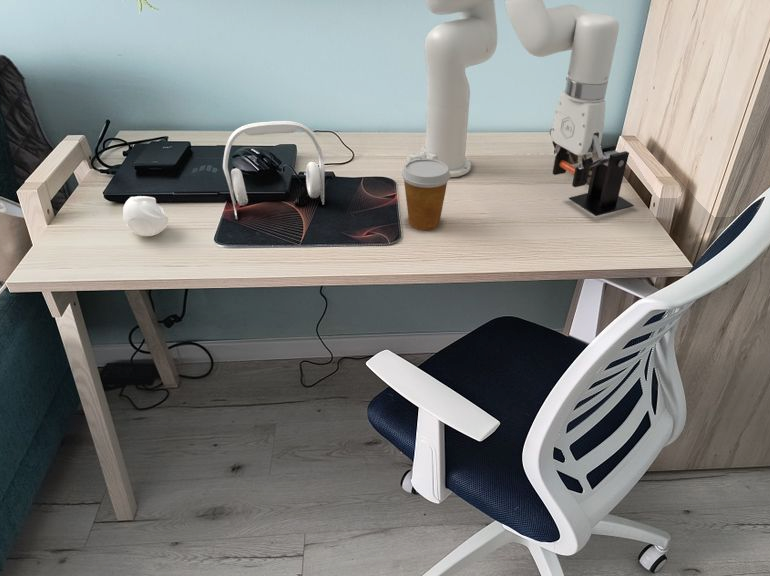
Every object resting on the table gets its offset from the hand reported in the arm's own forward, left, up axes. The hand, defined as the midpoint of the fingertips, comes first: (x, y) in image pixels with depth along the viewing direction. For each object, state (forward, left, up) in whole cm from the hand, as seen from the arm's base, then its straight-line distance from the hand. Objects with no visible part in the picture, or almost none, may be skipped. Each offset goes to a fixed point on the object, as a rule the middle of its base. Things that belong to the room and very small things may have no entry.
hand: (569, 178), depth 131 cm
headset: (-52, +29, -9) cm, 60 cm away
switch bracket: (+11, 0, -9) cm, 14 cm away
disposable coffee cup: (-28, +10, -9) cm, 31 cm away
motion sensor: (-78, +29, -9) cm, 84 cm away
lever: (+6, 0, +1) cm, 6 cm away
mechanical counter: (+17, +13, -9) cm, 23 cm away
